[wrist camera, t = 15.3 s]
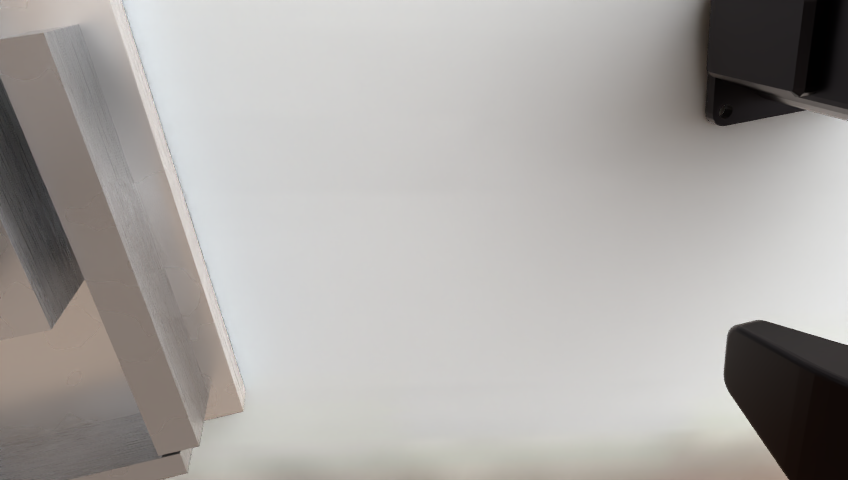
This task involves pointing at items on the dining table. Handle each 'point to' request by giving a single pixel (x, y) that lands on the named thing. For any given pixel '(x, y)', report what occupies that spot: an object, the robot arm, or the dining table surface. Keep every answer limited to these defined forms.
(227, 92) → the dining table surface
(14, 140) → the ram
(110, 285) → the press base
